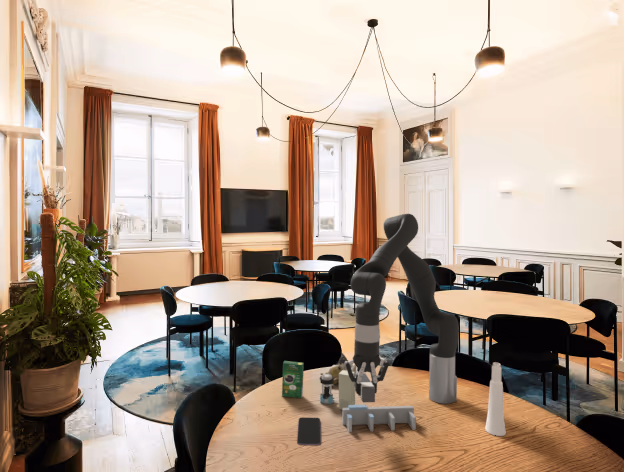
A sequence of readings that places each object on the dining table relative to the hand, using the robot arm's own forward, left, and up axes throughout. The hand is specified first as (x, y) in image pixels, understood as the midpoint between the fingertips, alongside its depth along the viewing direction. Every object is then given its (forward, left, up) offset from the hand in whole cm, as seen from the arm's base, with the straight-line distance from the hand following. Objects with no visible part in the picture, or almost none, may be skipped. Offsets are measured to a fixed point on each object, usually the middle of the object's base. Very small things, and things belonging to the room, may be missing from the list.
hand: (365, 394), depth 113 cm
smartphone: (+16, -7, -15) cm, 23 cm away
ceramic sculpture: (0, -45, -15) cm, 47 cm away
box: (+1, -22, -15) cm, 26 cm away
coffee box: (+20, -33, -15) cm, 41 cm away
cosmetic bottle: (-44, -3, -15) cm, 46 cm away
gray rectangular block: (0, -2, -1) cm, 3 cm away
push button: (+7, -27, -15) cm, 31 cm away
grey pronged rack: (-7, -8, -14) cm, 18 cm away
